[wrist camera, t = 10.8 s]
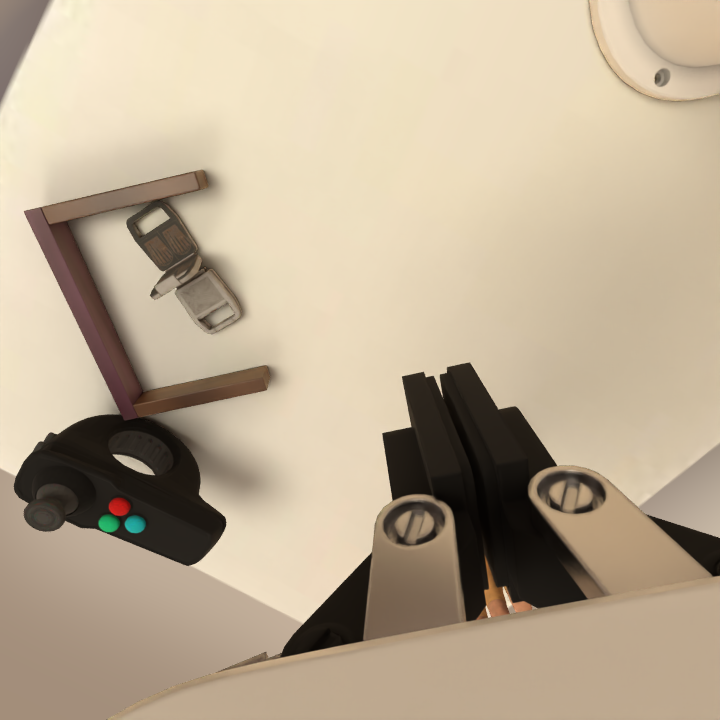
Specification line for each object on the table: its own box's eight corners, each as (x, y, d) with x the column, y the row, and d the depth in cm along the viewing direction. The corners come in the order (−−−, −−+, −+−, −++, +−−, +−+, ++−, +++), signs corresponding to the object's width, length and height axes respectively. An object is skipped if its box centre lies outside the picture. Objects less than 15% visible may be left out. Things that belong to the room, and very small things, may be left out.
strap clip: (247, 312, 32) (235, 335, 28) (210, 334, 33) (193, 359, 29) (164, 195, 29) (138, 203, 25) (124, 221, 30) (93, 233, 26)
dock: (203, 169, 29) (194, 171, 27) (270, 377, 34) (267, 390, 32) (42, 207, 29) (23, 211, 27) (135, 406, 35) (124, 420, 33)
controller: (93, 379, 34) (4, 467, 25) (250, 460, 37) (222, 563, 28) (69, 424, 35) (-24, 523, 26) (222, 498, 38) (187, 608, 29)
